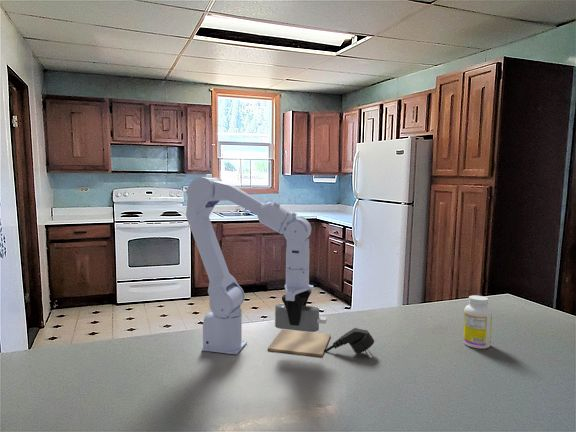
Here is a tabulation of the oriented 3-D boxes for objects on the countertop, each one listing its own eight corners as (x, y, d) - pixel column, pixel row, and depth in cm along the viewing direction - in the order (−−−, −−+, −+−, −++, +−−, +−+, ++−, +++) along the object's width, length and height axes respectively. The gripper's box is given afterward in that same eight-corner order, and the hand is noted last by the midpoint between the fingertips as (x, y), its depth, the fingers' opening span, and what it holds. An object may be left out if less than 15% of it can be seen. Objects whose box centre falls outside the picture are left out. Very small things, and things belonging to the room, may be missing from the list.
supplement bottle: (474, 338, 114) (477, 293, 113) (495, 347, 108) (498, 299, 107) (457, 342, 111) (459, 295, 110) (478, 351, 105) (480, 302, 104)
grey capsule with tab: (273, 327, 101) (273, 307, 100) (277, 322, 105) (277, 303, 104) (324, 333, 98) (325, 312, 97) (327, 327, 101) (327, 308, 101)
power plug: (324, 344, 107) (363, 320, 105) (340, 368, 107) (380, 345, 104) (322, 353, 101) (363, 328, 99) (339, 378, 101) (381, 354, 99)
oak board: (267, 350, 104) (267, 348, 104) (281, 331, 118) (281, 329, 118) (322, 356, 101) (322, 354, 101) (330, 336, 114) (330, 334, 114)
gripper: (307, 274, 92) (306, 333, 93) (319, 262, 106) (318, 314, 107) (277, 272, 94) (276, 330, 95) (292, 261, 108) (292, 311, 109)
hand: (296, 321), depth 101 cm, fingers closed on grey capsule with tab, 4 cm apart
